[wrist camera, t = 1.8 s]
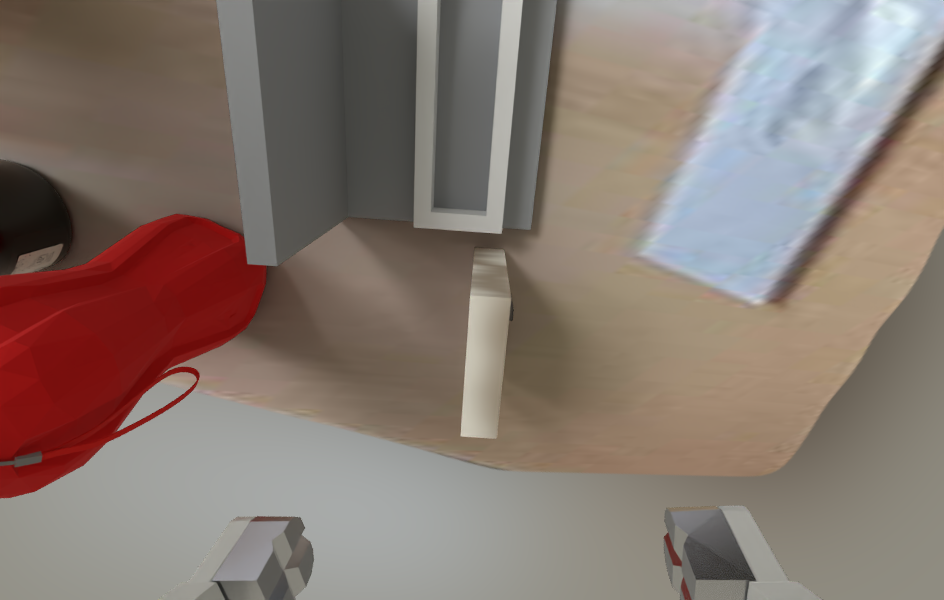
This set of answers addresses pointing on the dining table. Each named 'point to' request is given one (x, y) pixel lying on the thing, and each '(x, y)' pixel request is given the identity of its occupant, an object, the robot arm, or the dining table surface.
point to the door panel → (486, 343)
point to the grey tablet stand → (384, 114)
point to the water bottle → (111, 339)
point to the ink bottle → (30, 221)
